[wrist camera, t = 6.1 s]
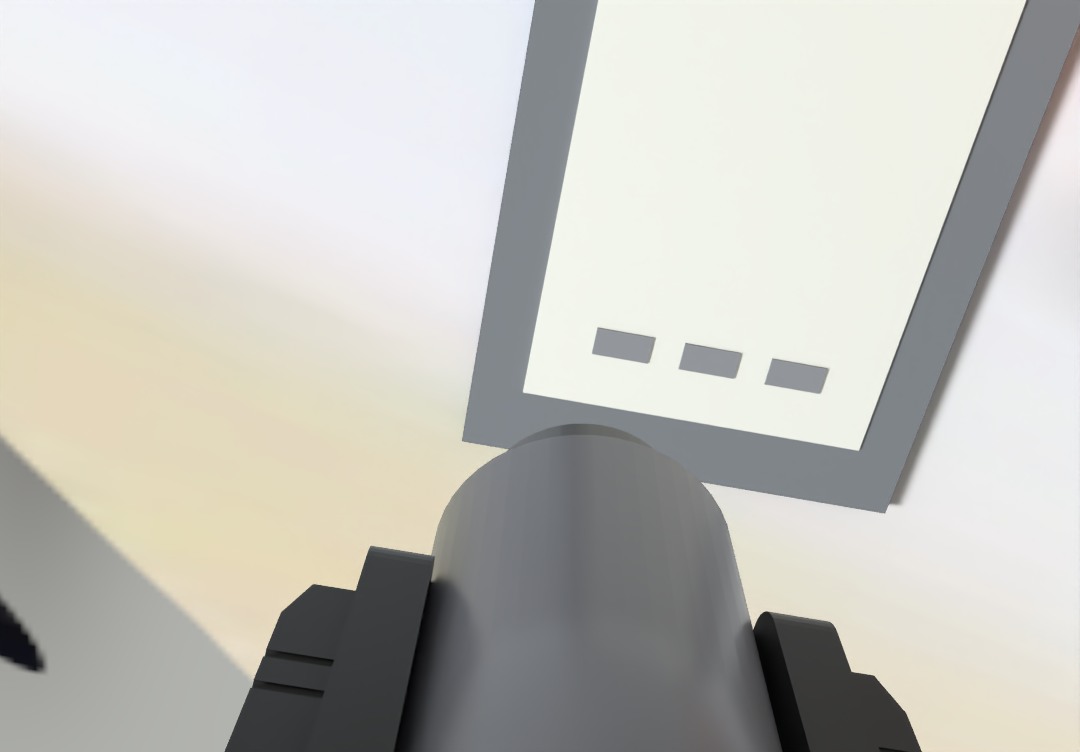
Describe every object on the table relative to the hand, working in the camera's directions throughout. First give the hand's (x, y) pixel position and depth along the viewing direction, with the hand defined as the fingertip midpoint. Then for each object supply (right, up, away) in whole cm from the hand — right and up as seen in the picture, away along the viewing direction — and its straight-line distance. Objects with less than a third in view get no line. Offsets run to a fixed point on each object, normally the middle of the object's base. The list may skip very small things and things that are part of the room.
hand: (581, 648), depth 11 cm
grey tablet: (+5, +8, +15) cm, 18 cm away
